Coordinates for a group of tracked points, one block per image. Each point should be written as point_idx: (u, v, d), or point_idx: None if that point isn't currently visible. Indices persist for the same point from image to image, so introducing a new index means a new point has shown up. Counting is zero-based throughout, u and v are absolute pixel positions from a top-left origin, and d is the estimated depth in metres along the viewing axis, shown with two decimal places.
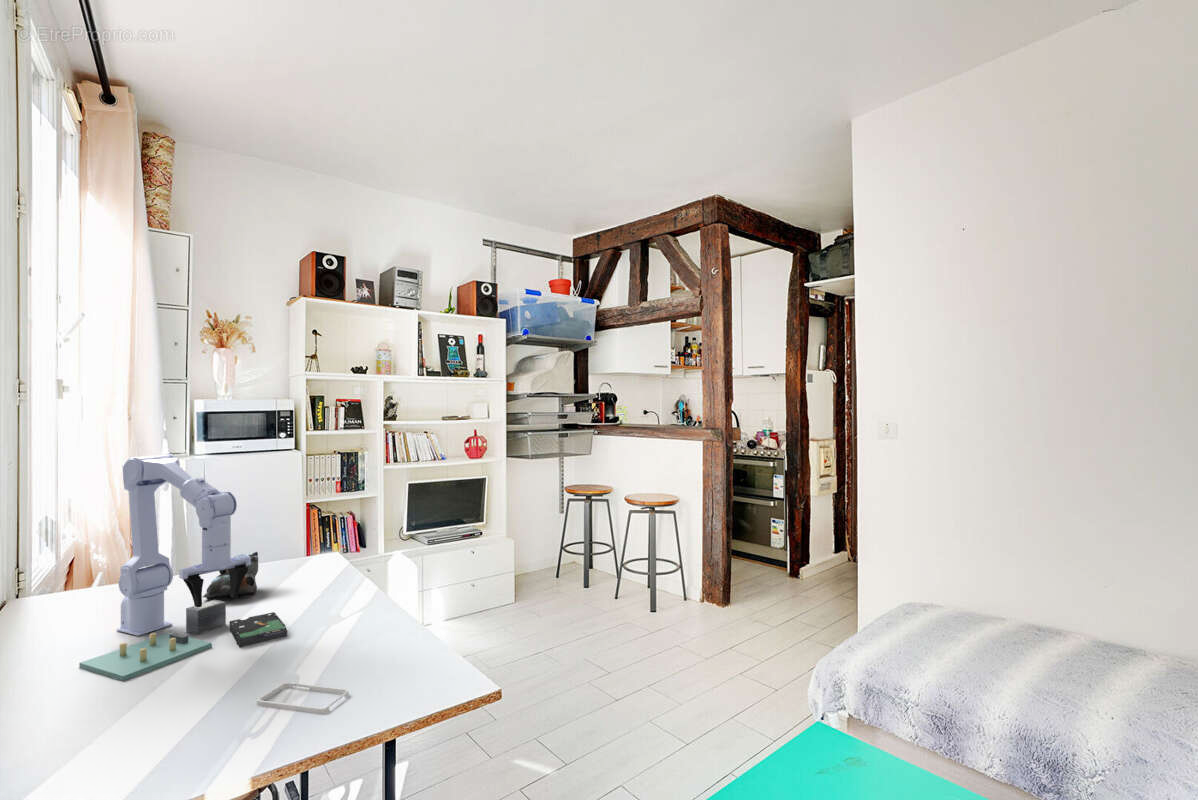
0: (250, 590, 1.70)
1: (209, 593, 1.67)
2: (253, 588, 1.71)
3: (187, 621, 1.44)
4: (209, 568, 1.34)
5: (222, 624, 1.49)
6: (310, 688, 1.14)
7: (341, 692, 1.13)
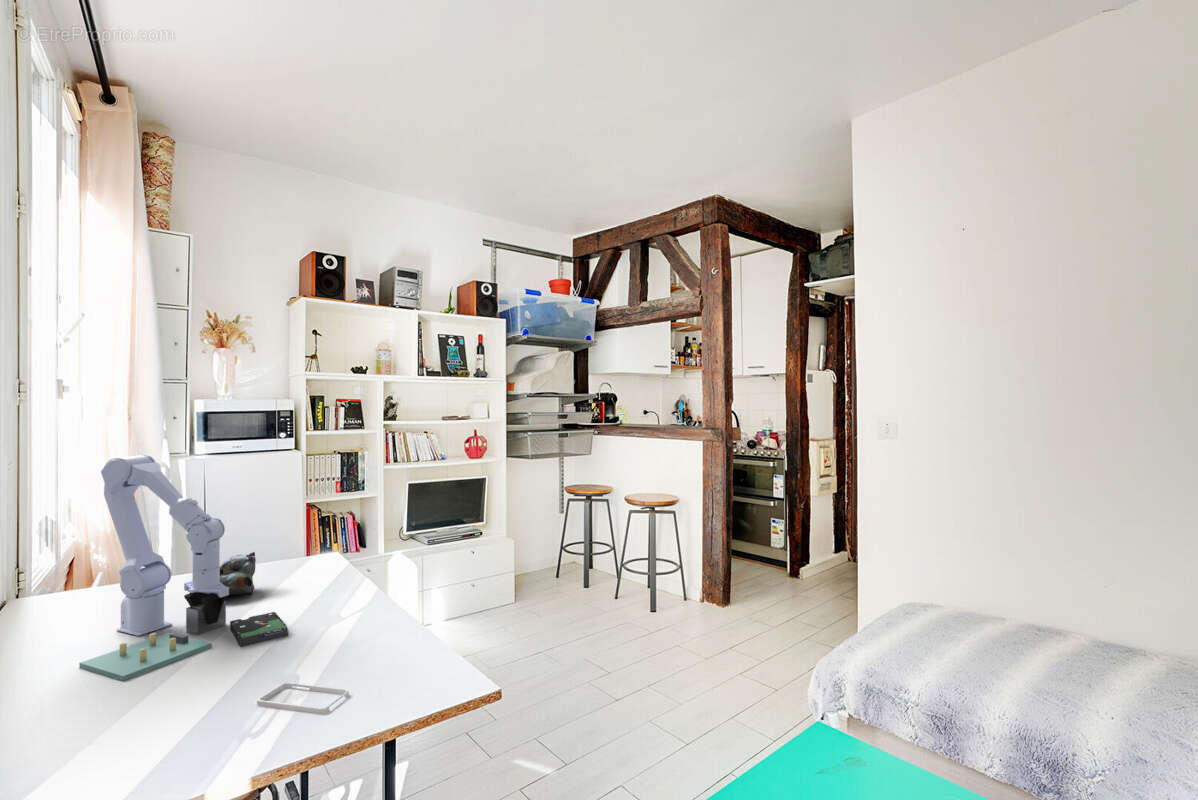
0: (248, 590, 1.70)
1: None
2: (251, 588, 1.71)
3: (187, 621, 1.44)
4: None
5: (222, 624, 1.49)
6: (310, 688, 1.14)
7: (341, 692, 1.13)
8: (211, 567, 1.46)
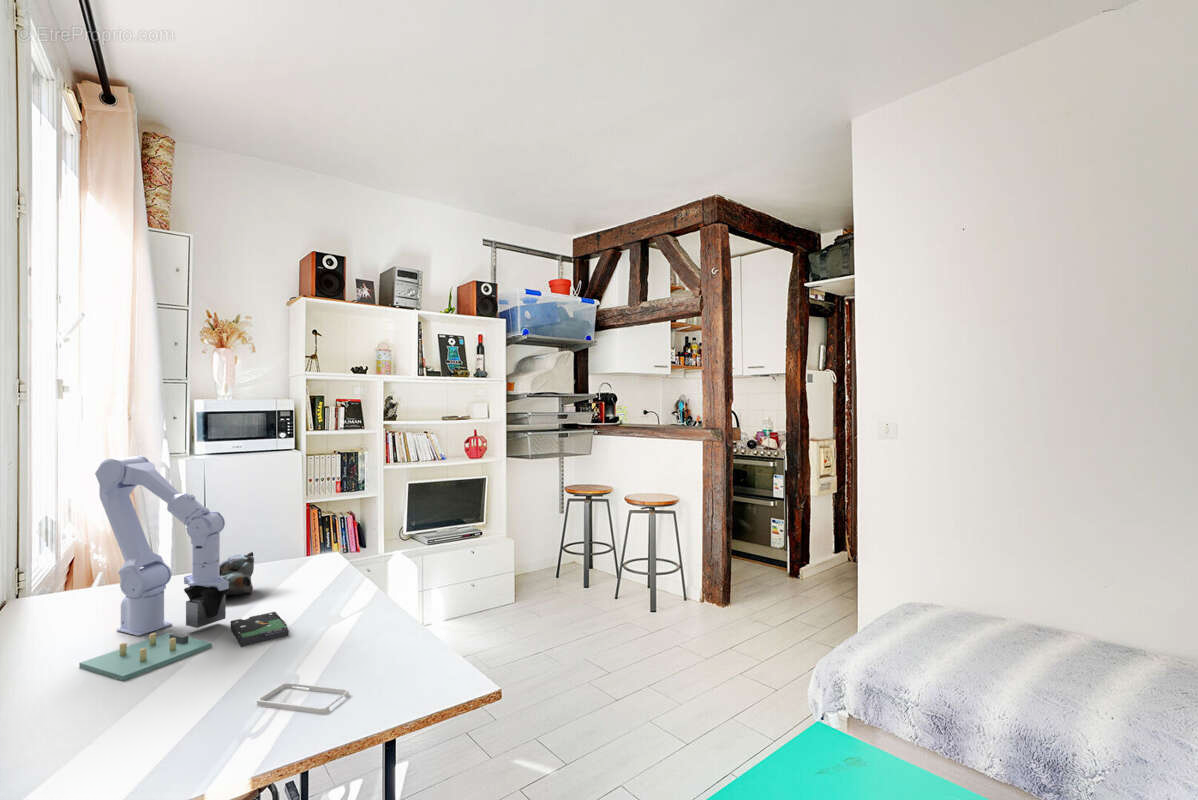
0: (246, 590, 1.70)
1: None
2: (249, 588, 1.71)
3: (187, 614, 1.44)
4: (190, 581, 1.46)
5: (222, 617, 1.49)
6: (310, 688, 1.14)
7: (341, 692, 1.13)
8: (211, 560, 1.46)
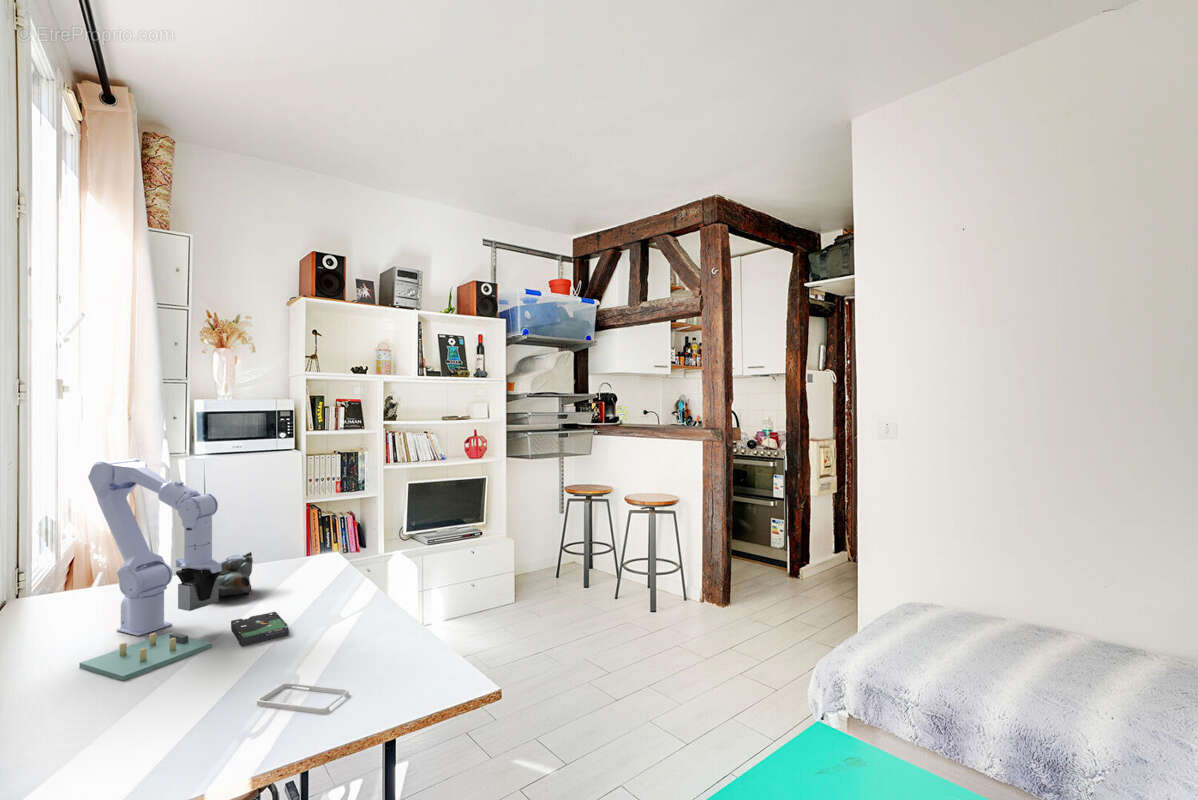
0: (245, 590, 1.70)
1: None
2: (248, 588, 1.71)
3: (179, 597, 1.42)
4: (182, 564, 1.43)
5: (215, 601, 1.46)
6: (310, 688, 1.14)
7: (341, 692, 1.13)
8: (201, 543, 1.43)
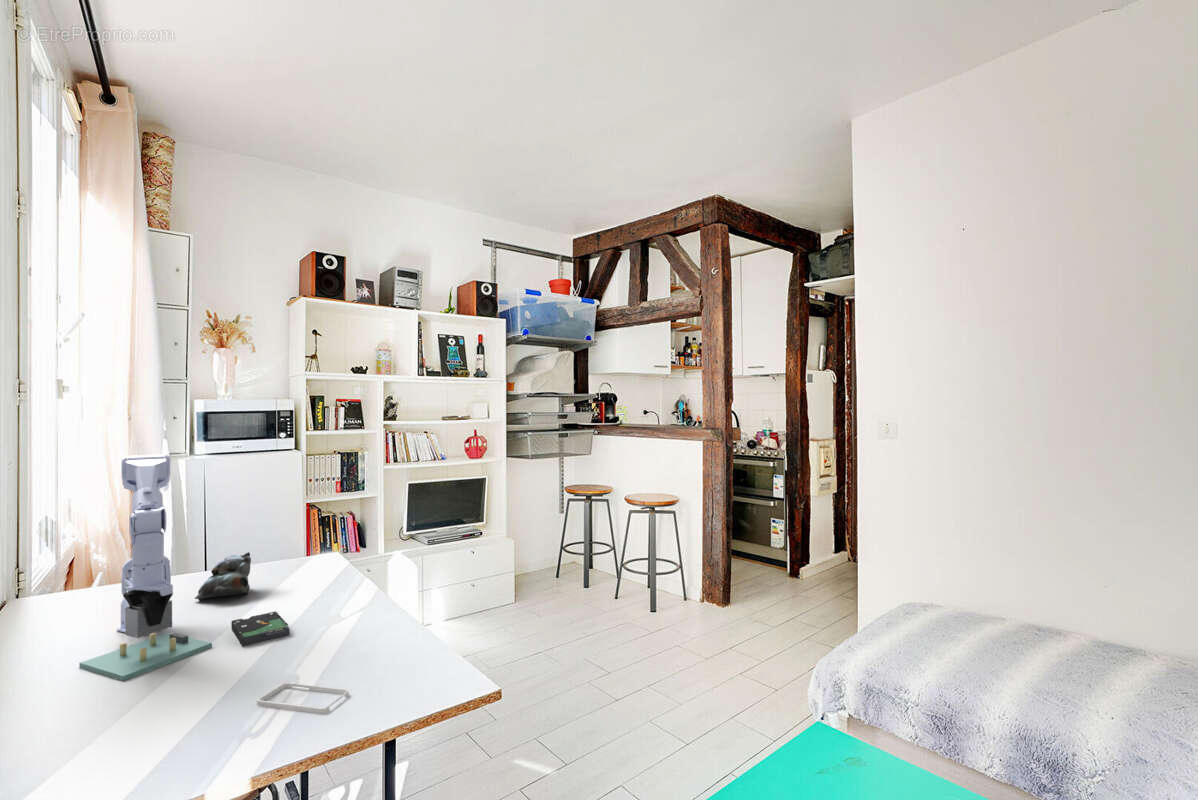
0: (244, 590, 1.69)
1: (202, 594, 1.66)
2: (246, 588, 1.71)
3: (126, 622, 1.28)
4: (129, 585, 1.29)
5: (168, 626, 1.32)
6: (310, 688, 1.14)
7: (341, 692, 1.13)
8: (139, 563, 1.28)
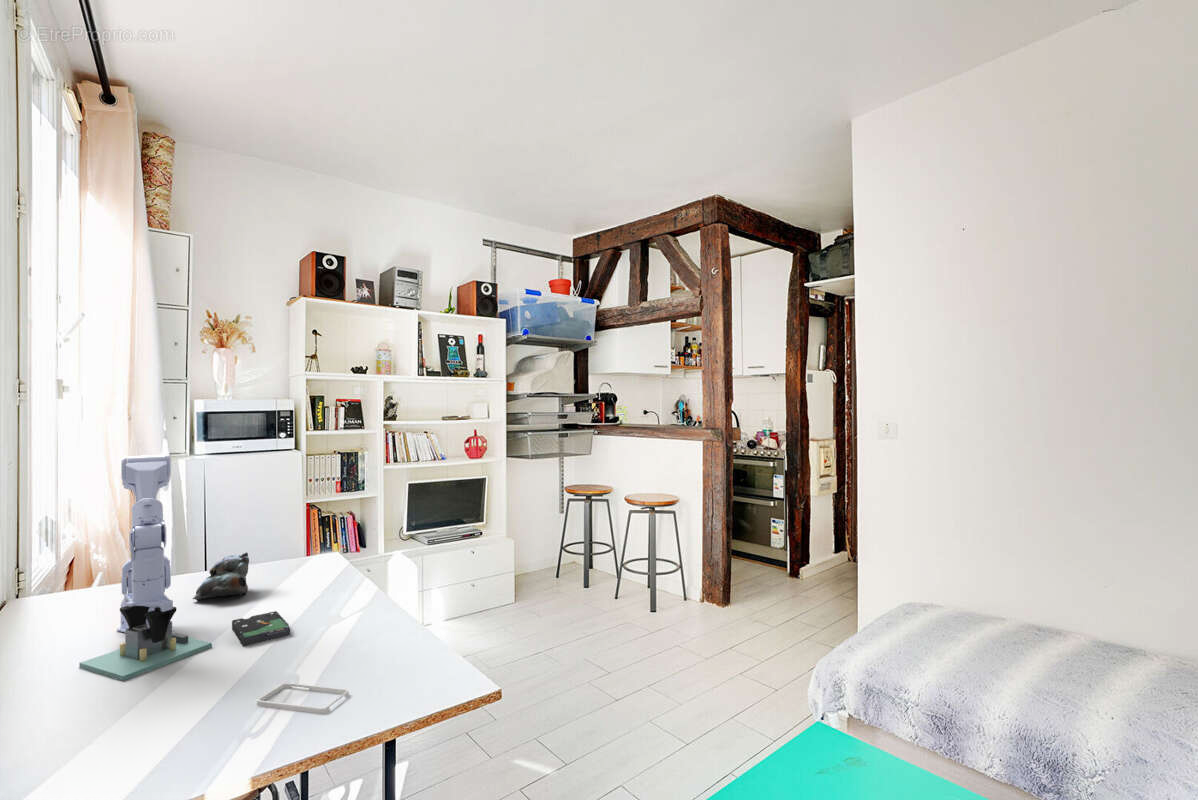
0: (242, 591, 1.69)
1: (200, 594, 1.66)
2: (245, 589, 1.71)
3: (126, 644, 1.28)
4: (129, 601, 1.29)
5: (167, 647, 1.32)
6: (310, 688, 1.14)
7: (341, 692, 1.13)
8: (139, 579, 1.28)
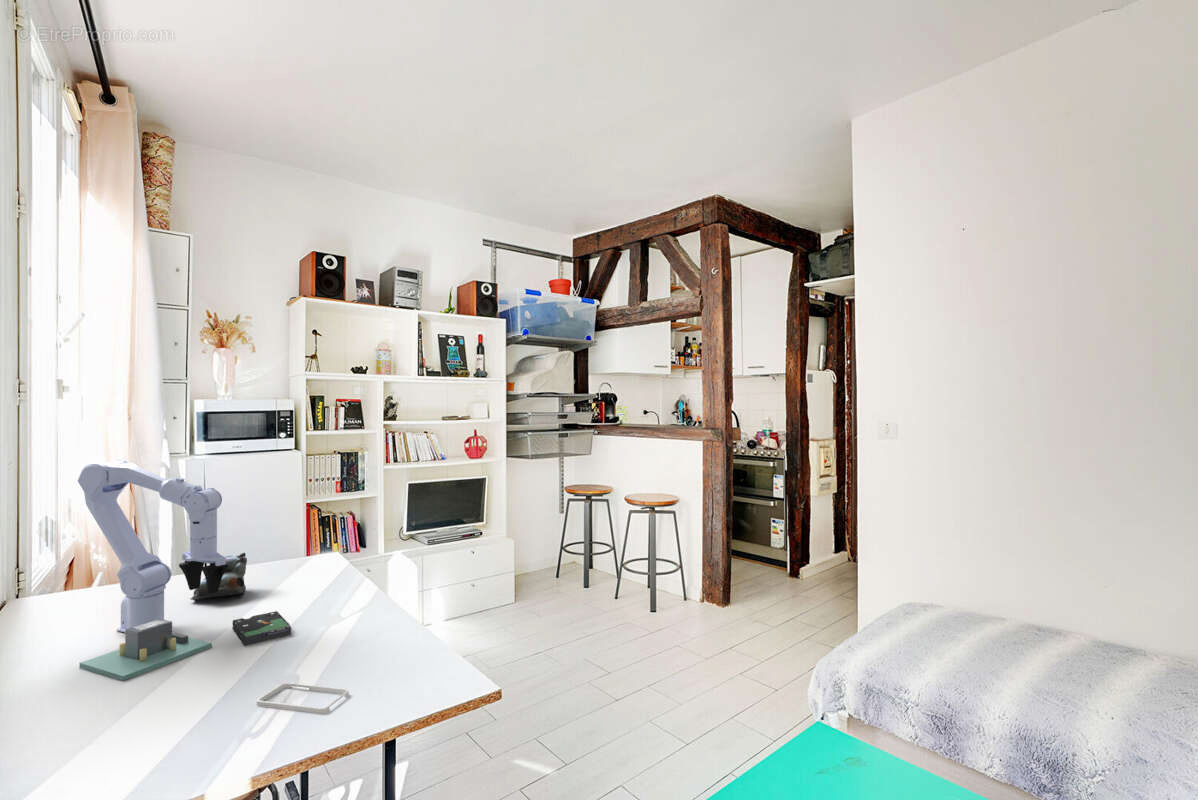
0: (240, 591, 1.69)
1: (198, 595, 1.65)
2: (243, 589, 1.71)
3: (126, 644, 1.28)
4: (188, 557, 1.46)
5: (167, 647, 1.32)
6: (310, 688, 1.14)
7: (341, 692, 1.13)
8: (209, 536, 1.46)
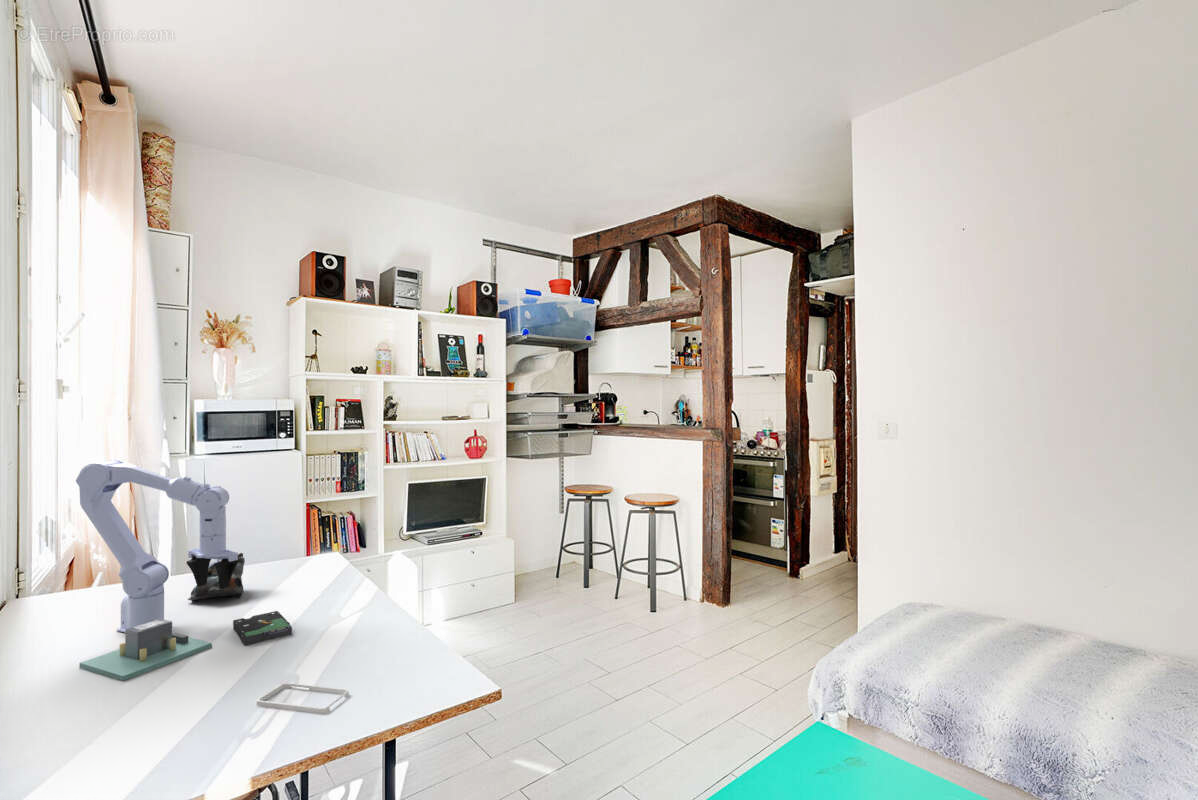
0: (238, 591, 1.69)
1: (195, 595, 1.65)
2: (241, 589, 1.70)
3: (126, 644, 1.28)
4: (197, 554, 1.49)
5: (167, 647, 1.32)
6: (309, 688, 1.14)
7: (341, 692, 1.13)
8: (220, 533, 1.50)
